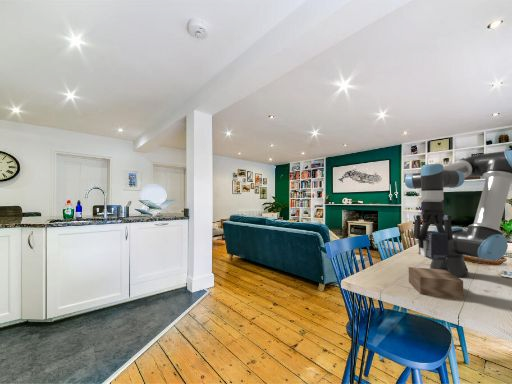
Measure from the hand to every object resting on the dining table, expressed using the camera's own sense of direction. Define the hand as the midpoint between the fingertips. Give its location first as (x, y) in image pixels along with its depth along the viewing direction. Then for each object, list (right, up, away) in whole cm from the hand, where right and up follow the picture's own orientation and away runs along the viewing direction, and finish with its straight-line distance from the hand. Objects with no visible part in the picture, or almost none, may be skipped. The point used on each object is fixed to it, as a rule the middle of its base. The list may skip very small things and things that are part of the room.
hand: (432, 256), depth 97 cm
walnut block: (0, -14, 0) cm, 14 cm away
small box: (0, -1, 0) cm, 1 cm away
